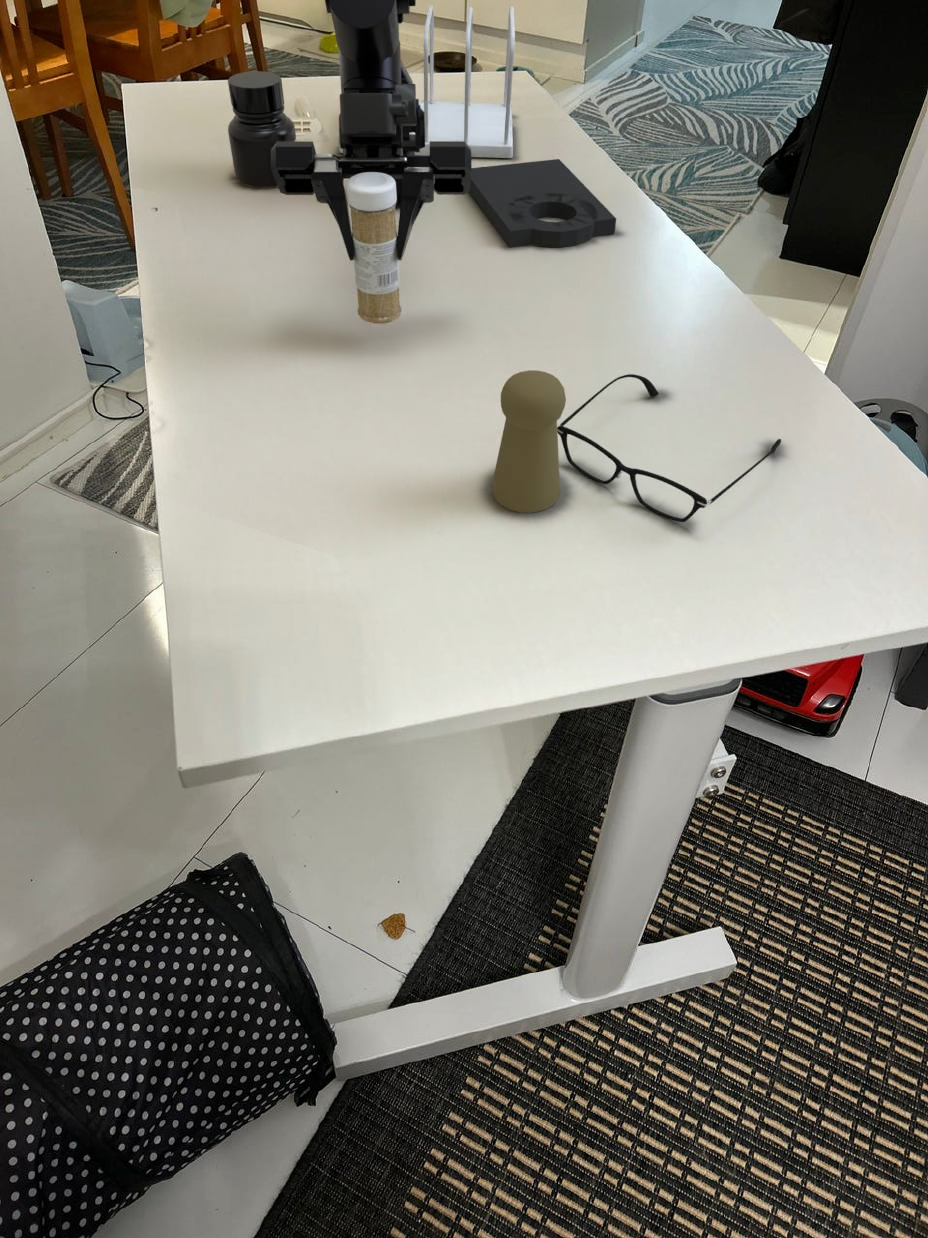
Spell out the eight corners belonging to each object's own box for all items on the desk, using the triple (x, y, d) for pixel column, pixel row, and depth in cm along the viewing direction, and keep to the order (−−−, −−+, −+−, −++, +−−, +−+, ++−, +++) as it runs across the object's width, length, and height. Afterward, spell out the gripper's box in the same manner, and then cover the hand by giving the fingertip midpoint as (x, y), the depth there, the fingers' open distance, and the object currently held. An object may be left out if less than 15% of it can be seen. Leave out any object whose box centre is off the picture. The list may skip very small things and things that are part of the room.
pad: (462, 183, 124) (462, 168, 122) (557, 173, 127) (559, 158, 125) (513, 253, 110) (514, 236, 108) (619, 239, 112) (621, 223, 111)
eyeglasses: (543, 459, 82) (547, 422, 79) (642, 388, 90) (648, 352, 87) (700, 542, 74) (710, 504, 71) (792, 456, 82) (804, 419, 79)
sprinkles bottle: (394, 300, 95) (387, 166, 85) (407, 321, 92) (402, 186, 82) (352, 307, 94) (340, 173, 84) (364, 329, 91) (353, 192, 81)
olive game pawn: (512, 520, 76) (520, 409, 68) (479, 480, 79) (482, 370, 71) (573, 500, 78) (587, 389, 70) (537, 461, 81) (547, 352, 73)
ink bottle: (304, 187, 122) (293, 89, 113) (238, 193, 121) (222, 93, 112) (296, 160, 128) (285, 65, 120) (233, 165, 127) (217, 69, 118)
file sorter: (339, 155, 130) (328, 29, 119) (352, 113, 142) (344, -5, 130) (512, 159, 130) (518, 33, 118) (511, 116, 142) (516, -1, 130)
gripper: (257, 42, 78) (262, 227, 78) (472, 43, 78) (475, 226, 79) (278, 109, 89) (283, 270, 90) (467, 109, 90) (470, 269, 90)
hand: (375, 258), depth 87 cm, fingers closed on sprinkles bottle, 4 cm apart
